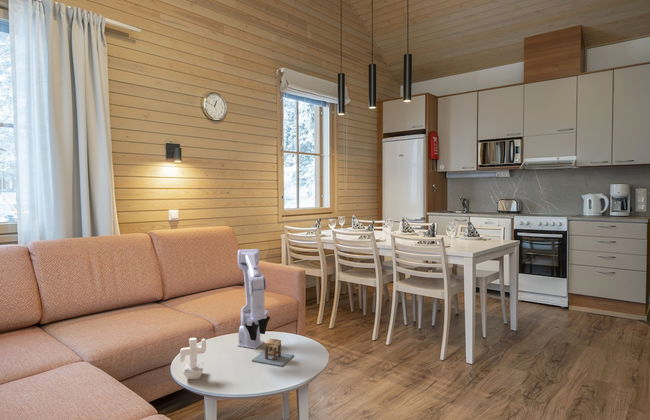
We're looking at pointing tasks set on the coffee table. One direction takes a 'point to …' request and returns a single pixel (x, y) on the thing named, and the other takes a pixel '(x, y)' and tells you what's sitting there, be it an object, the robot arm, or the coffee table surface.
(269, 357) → the slate mat
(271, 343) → the stool
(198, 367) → the figurine
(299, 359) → the coffee table surface
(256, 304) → the robot arm
